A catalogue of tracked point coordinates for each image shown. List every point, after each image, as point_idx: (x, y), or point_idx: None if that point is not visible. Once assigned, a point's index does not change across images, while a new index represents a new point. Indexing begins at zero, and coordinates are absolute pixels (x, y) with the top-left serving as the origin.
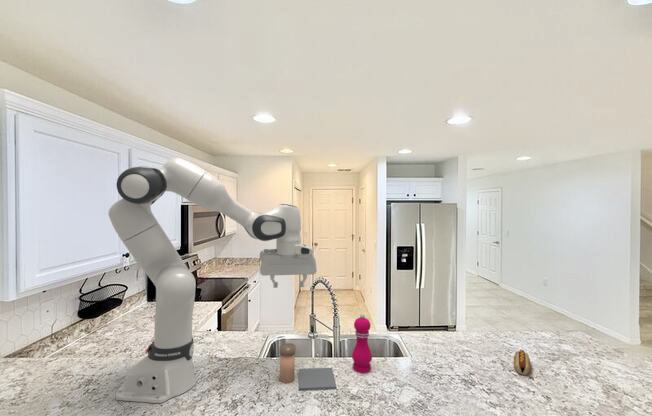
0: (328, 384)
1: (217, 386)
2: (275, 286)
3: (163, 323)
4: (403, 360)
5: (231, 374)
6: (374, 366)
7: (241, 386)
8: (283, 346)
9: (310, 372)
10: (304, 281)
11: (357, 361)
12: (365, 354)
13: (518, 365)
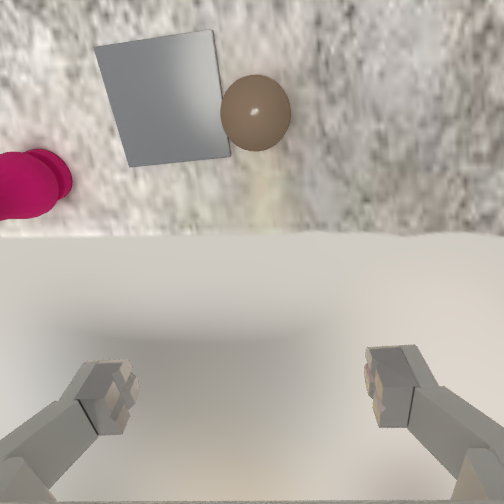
0: (120, 59)
1: (492, 45)
2: (394, 351)
3: None
4: None
5: (446, 127)
6: None
7: (408, 49)
8: (273, 116)
9: (190, 135)
10: (45, 408)
11: (32, 157)
12: None
13: None
